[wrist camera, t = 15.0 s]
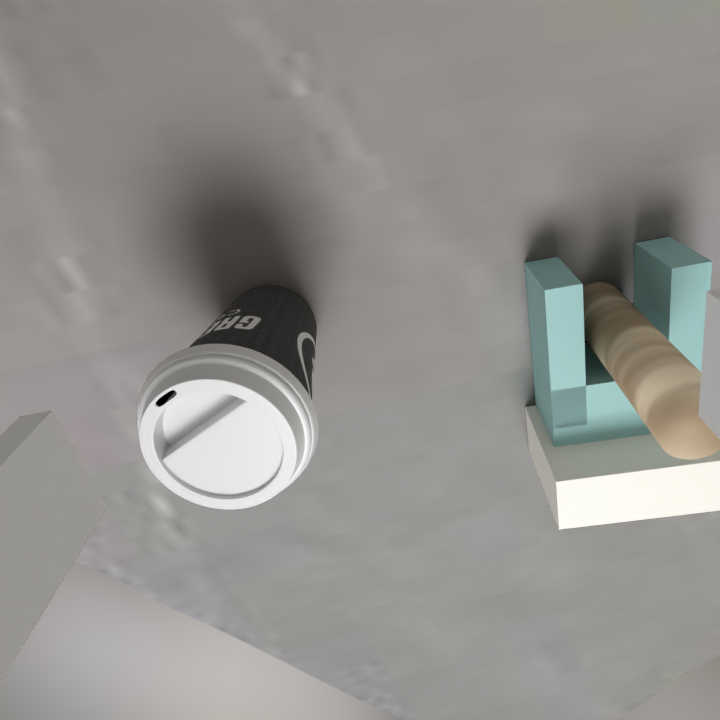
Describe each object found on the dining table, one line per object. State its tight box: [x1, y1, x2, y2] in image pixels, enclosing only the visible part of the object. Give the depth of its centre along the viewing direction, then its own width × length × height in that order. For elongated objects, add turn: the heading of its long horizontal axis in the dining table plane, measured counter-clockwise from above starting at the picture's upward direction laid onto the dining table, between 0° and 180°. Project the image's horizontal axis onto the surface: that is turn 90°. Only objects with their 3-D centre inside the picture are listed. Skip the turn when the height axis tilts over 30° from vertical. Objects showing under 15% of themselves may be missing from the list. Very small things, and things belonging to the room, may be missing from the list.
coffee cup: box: [137, 286, 318, 509], centre depth 35 cm, size 10×10×15 cm
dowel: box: [583, 282, 720, 459], centre depth 33 cm, size 4×4×15 cm
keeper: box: [525, 237, 712, 447], centre depth 38 cm, size 12×9×6 cm
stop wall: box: [525, 405, 720, 529], centre depth 40 cm, size 4×11×9 cm, turn 102°
